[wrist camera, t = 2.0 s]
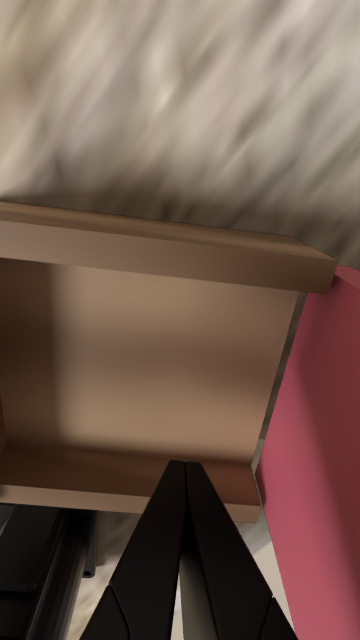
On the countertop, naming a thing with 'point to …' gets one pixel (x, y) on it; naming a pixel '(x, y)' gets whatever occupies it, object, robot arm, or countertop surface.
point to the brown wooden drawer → (138, 353)
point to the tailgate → (318, 466)
